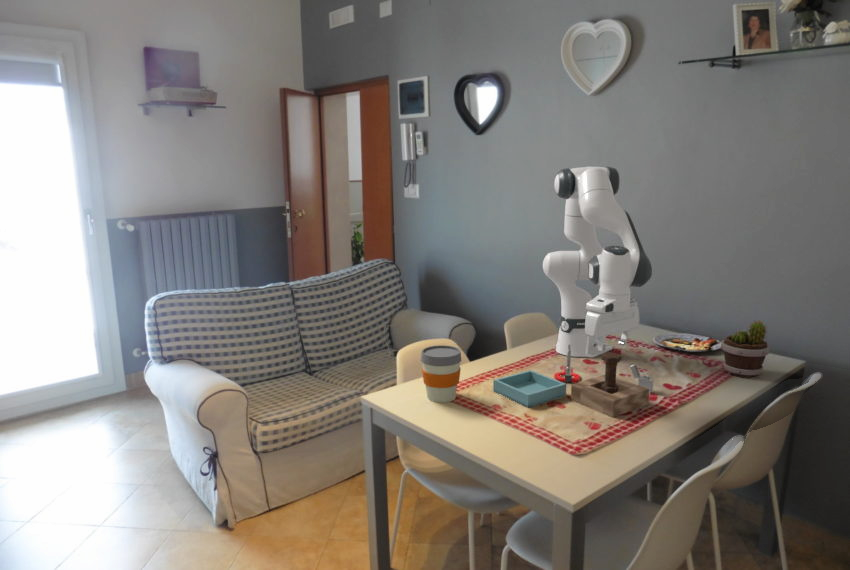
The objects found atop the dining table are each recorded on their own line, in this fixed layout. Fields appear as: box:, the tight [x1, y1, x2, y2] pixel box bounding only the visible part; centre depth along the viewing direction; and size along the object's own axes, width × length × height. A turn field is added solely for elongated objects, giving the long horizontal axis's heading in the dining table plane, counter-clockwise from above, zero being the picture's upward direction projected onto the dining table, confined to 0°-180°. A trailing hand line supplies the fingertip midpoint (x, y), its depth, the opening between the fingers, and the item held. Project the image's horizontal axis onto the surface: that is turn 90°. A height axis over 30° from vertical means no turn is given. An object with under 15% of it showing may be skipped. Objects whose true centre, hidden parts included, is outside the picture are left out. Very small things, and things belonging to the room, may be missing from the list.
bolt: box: [600, 352, 623, 394], centre depth 183 cm, size 6×5×15 cm
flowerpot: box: [720, 318, 771, 379], centre depth 205 cm, size 14×15×20 cm
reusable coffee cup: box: [420, 344, 462, 403], centre depth 189 cm, size 13×12×15 cm
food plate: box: [652, 332, 722, 353], centre depth 238 cm, size 25×23×4 cm
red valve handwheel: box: [553, 345, 581, 384], centre depth 204 cm, size 8×13×9 cm
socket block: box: [570, 374, 650, 418], centre depth 184 cm, size 16×16×5 cm
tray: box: [492, 369, 567, 409], centre depth 191 cm, size 16×16×4 cm
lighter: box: [629, 363, 654, 394], centre depth 193 cm, size 7×2×8 cm, turn 48°
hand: (612, 347), depth 180 cm, fingers open, 8 cm apart
